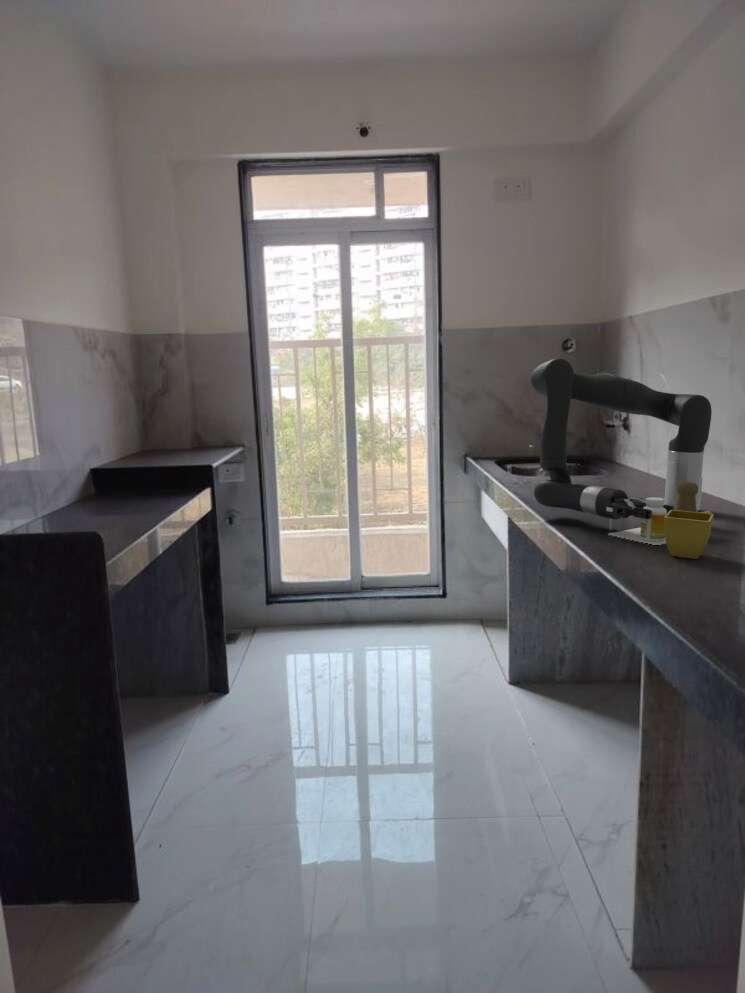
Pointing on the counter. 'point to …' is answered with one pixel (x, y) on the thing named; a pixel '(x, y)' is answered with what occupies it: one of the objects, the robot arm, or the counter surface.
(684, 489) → the olive chess pawn
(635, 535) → the paper
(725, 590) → the counter surface
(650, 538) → the supplement bottle
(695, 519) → the flower pot
